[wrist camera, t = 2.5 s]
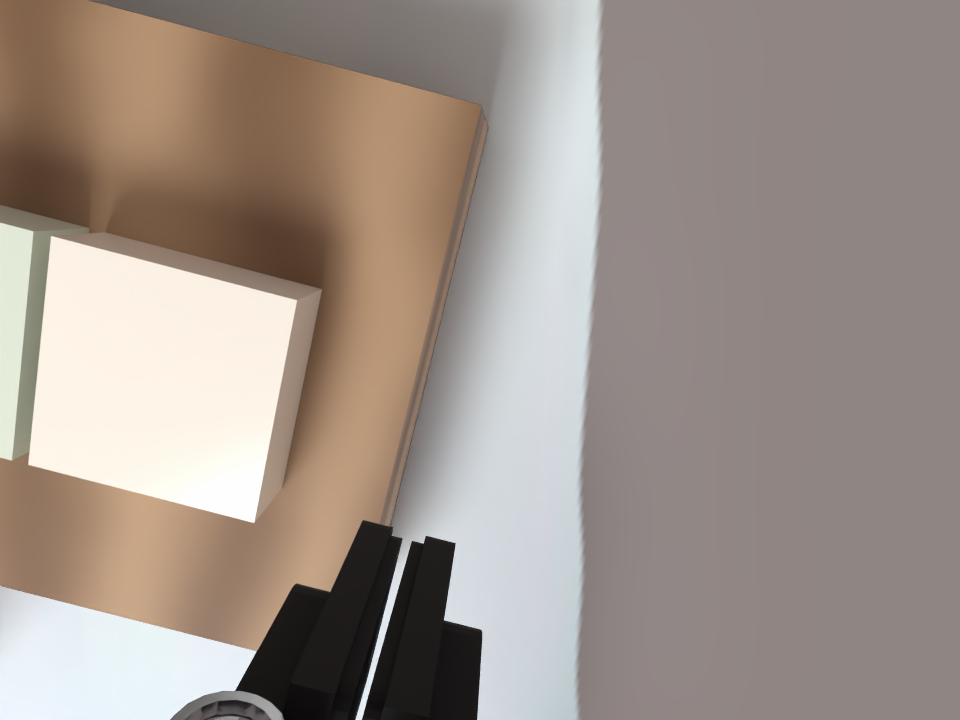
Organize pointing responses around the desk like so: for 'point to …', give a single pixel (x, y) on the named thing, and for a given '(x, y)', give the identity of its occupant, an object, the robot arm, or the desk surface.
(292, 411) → the tile cream
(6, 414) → the tile sage
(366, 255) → the wooden block
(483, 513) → the desk surface
